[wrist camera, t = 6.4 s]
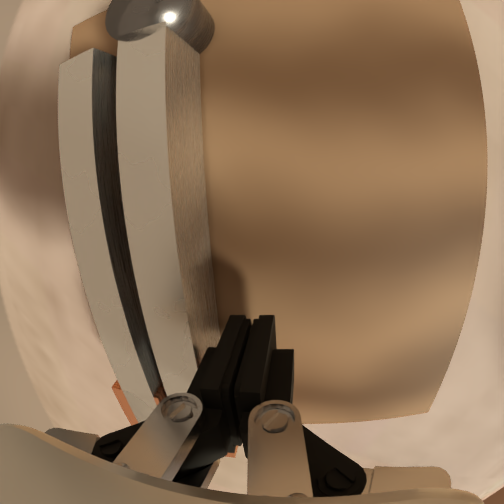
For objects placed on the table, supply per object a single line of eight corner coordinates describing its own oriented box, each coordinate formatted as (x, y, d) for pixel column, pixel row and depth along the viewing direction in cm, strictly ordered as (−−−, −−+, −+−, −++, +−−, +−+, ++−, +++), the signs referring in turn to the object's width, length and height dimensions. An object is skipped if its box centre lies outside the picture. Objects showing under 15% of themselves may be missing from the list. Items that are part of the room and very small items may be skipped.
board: (86, 32, 10) (73, 27, 9) (446, 1, 7) (456, -8, 6) (144, 391, 17) (136, 403, 16) (422, 398, 14) (427, 412, 13)
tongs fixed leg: (96, 80, 9) (48, 71, 6) (142, 64, 9) (98, 45, 6) (158, 401, 15) (138, 438, 12) (196, 408, 14) (179, 448, 12)
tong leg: (148, 15, 8) (110, -12, 5) (219, -2, 8) (194, -41, 5) (193, 407, 14) (176, 447, 12) (245, 414, 14) (235, 457, 11)
